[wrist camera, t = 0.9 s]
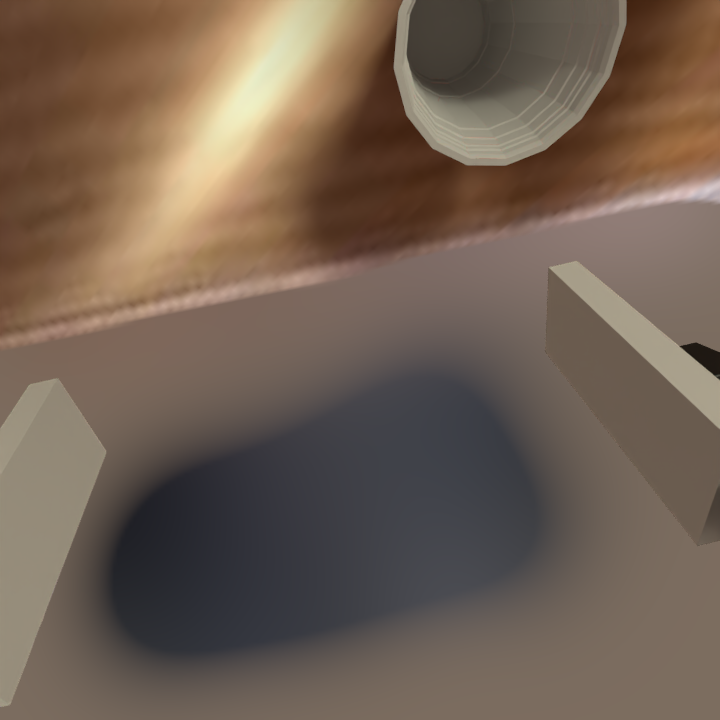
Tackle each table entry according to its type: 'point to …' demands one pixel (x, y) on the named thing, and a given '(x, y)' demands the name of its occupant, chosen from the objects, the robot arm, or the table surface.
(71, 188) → the table surface
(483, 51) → the plastic cup
